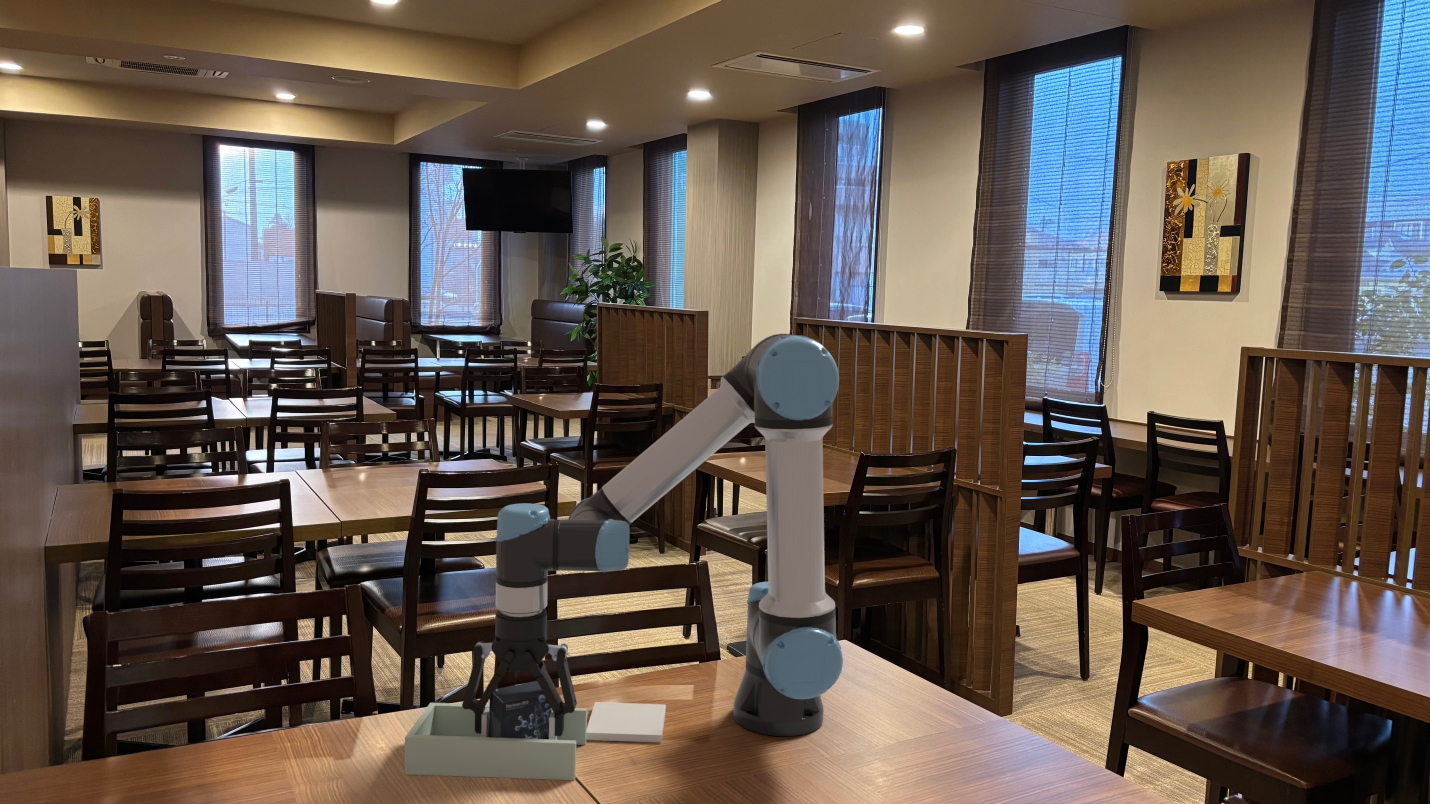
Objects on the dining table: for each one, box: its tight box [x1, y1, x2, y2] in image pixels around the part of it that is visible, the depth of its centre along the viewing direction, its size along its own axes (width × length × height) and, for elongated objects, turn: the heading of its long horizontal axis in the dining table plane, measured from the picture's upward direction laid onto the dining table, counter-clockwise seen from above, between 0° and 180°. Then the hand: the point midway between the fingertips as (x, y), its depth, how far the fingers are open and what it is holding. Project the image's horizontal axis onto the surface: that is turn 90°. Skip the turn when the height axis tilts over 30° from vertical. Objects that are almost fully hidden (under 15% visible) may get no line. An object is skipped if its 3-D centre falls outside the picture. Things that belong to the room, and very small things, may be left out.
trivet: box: [586, 701, 667, 744], centre depth 161 cm, size 12×12×1 cm
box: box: [488, 680, 551, 740], centre depth 148 cm, size 8×6×11 cm
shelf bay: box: [404, 702, 588, 781], centre depth 148 cm, size 24×12×6 cm, turn 90°
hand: (519, 754), depth 148 cm, fingers closed on box, 9 cm apart
